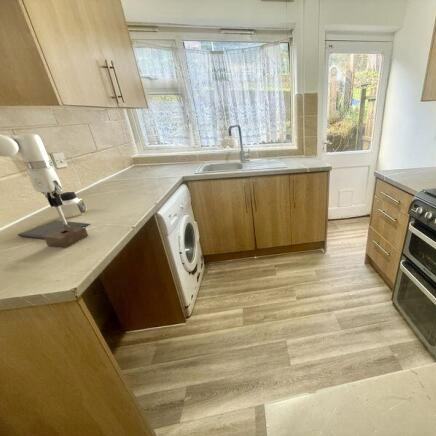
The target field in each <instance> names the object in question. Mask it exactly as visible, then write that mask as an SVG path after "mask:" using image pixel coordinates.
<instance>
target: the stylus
mask: <svg viewBox="0 0 436 436" xmlns="http://www.w3.org/2000/svg"><path fill="white" fill-rule="evenodd" d="M50 196H51V195H50ZM51 198H52V197H51ZM55 210H56V211H57V214H58V216H59V219H60V221H62V223H63V225H67V222H68V221H67V220H66V217H65V215H64V213H63V211H62V209H61V207H60V206H58V207H55ZM66 221H67V222H66Z"/></svg>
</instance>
